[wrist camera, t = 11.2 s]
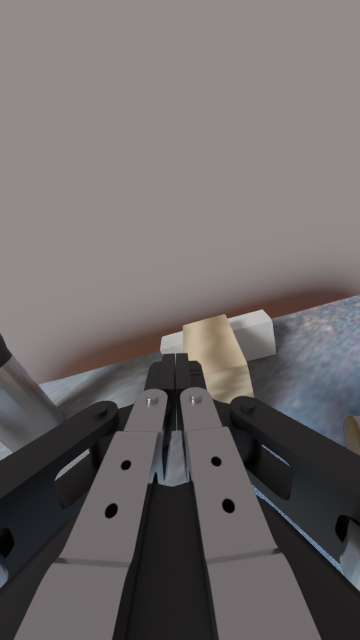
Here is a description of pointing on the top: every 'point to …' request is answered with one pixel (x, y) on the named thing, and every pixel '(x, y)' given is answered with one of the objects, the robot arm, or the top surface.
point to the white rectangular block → (237, 336)
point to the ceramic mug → (352, 433)
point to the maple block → (218, 358)
